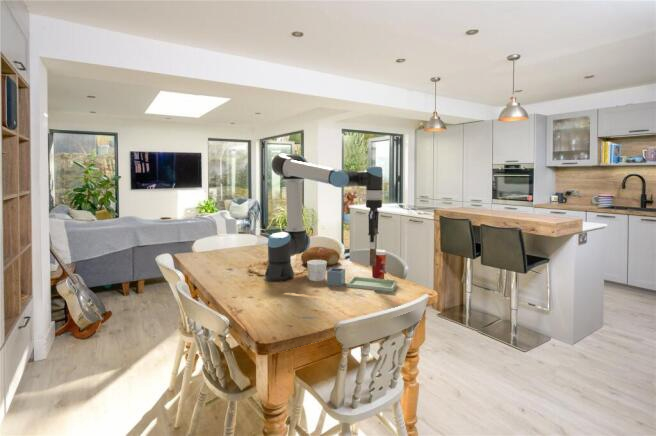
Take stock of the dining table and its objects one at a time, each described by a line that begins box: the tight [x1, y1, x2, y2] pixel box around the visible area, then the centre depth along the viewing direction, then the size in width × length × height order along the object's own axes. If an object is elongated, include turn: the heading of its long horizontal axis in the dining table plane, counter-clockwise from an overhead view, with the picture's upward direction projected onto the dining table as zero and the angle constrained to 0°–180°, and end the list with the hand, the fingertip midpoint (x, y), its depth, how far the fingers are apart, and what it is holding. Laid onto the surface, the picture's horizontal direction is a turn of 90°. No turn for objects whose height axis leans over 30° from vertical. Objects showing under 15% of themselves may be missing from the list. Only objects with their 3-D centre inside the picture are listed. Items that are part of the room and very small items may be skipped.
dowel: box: [369, 228, 378, 267], centre depth 189 cm, size 3×3×18 cm
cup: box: [306, 260, 327, 282], centre depth 201 cm, size 10×10×10 cm
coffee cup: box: [371, 248, 388, 279], centre depth 206 cm, size 8×8×15 cm
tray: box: [345, 276, 398, 294], centre depth 191 cm, size 22×14×2 cm, turn 72°
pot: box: [326, 267, 346, 287], centre depth 192 cm, size 7×7×8 cm
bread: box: [300, 246, 341, 267], centre depth 239 cm, size 23×23×10 cm
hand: (373, 247), depth 189 cm, fingers closed on dowel, 3 cm apart
